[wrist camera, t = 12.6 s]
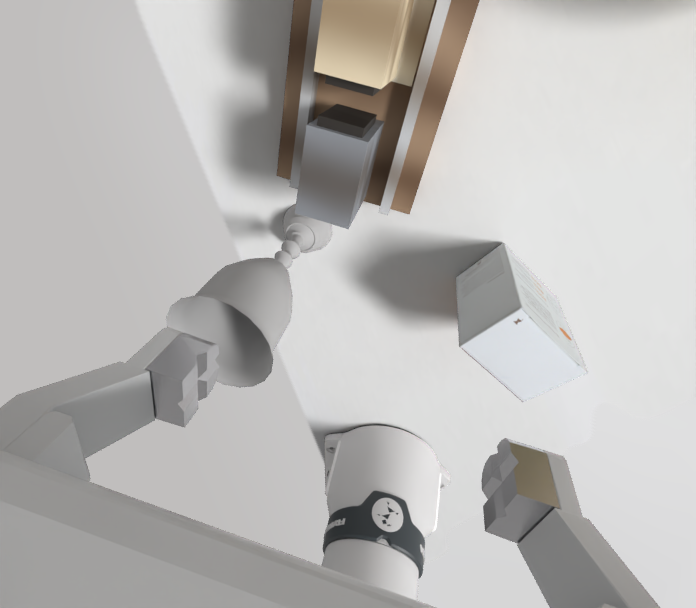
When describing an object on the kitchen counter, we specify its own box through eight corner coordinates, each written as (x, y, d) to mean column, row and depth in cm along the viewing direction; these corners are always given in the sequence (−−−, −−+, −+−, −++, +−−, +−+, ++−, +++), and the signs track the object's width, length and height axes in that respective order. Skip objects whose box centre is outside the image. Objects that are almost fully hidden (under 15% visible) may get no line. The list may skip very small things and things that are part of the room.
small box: (454, 275, 38) (455, 345, 29) (504, 239, 35) (520, 305, 26) (507, 326, 40) (522, 405, 31) (558, 296, 37) (590, 374, 28)
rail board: (411, 205, 35) (400, 251, 28) (284, 169, 35) (241, 204, 28) (499, -64, 24) (519, -105, 17) (315, -110, 25) (258, -169, 17)
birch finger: (360, -47, 24) (332, -71, 19) (421, -31, 24) (412, -51, 18) (340, 73, 28) (312, 82, 23) (393, 87, 28) (378, 100, 22)
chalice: (260, 208, 38) (143, 314, 24) (316, 179, 35) (223, 280, 21) (299, 269, 41) (216, 395, 27) (354, 246, 38) (294, 375, 24)
